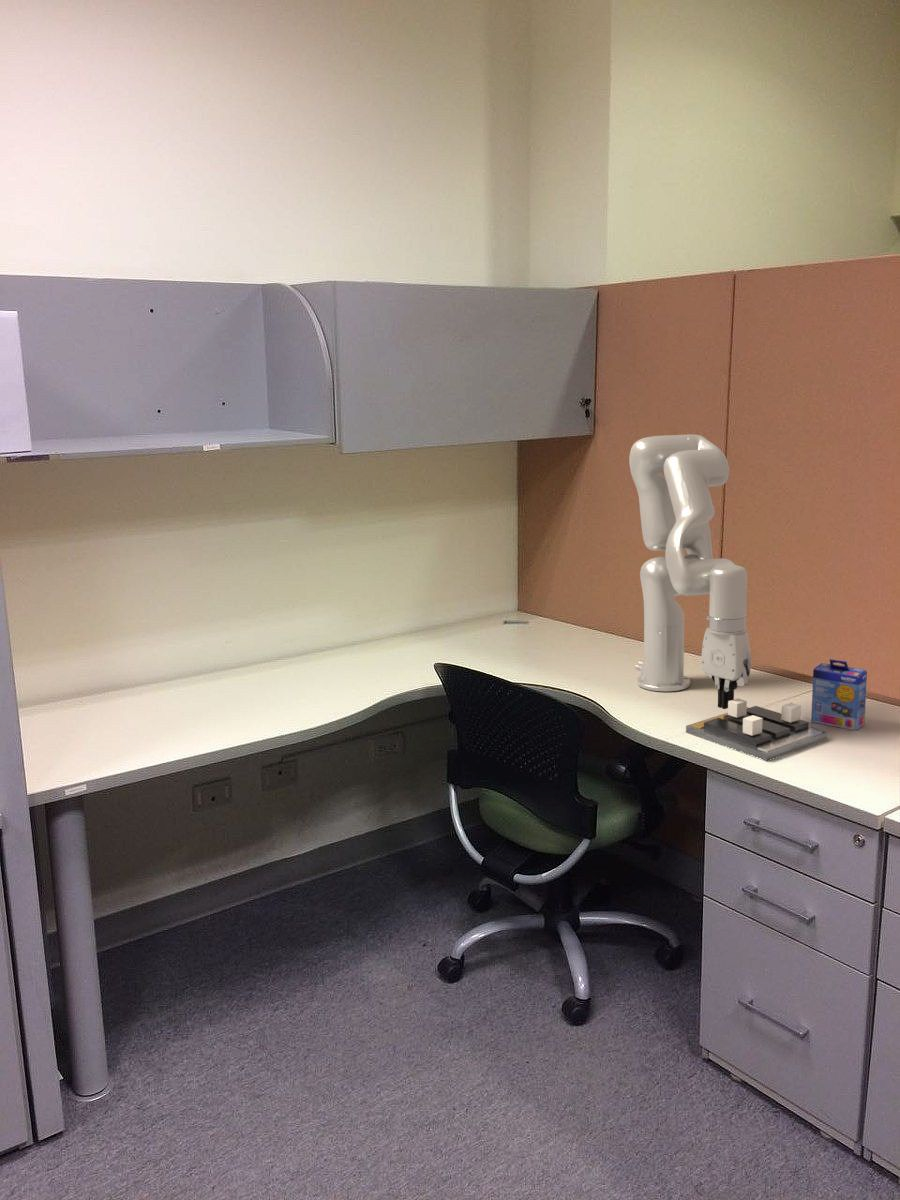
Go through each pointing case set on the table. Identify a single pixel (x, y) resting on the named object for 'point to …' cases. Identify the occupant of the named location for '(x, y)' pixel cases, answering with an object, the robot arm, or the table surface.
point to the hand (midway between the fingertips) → (725, 706)
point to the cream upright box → (752, 725)
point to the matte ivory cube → (737, 707)
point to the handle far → (791, 712)
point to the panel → (752, 749)
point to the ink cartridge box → (839, 695)
